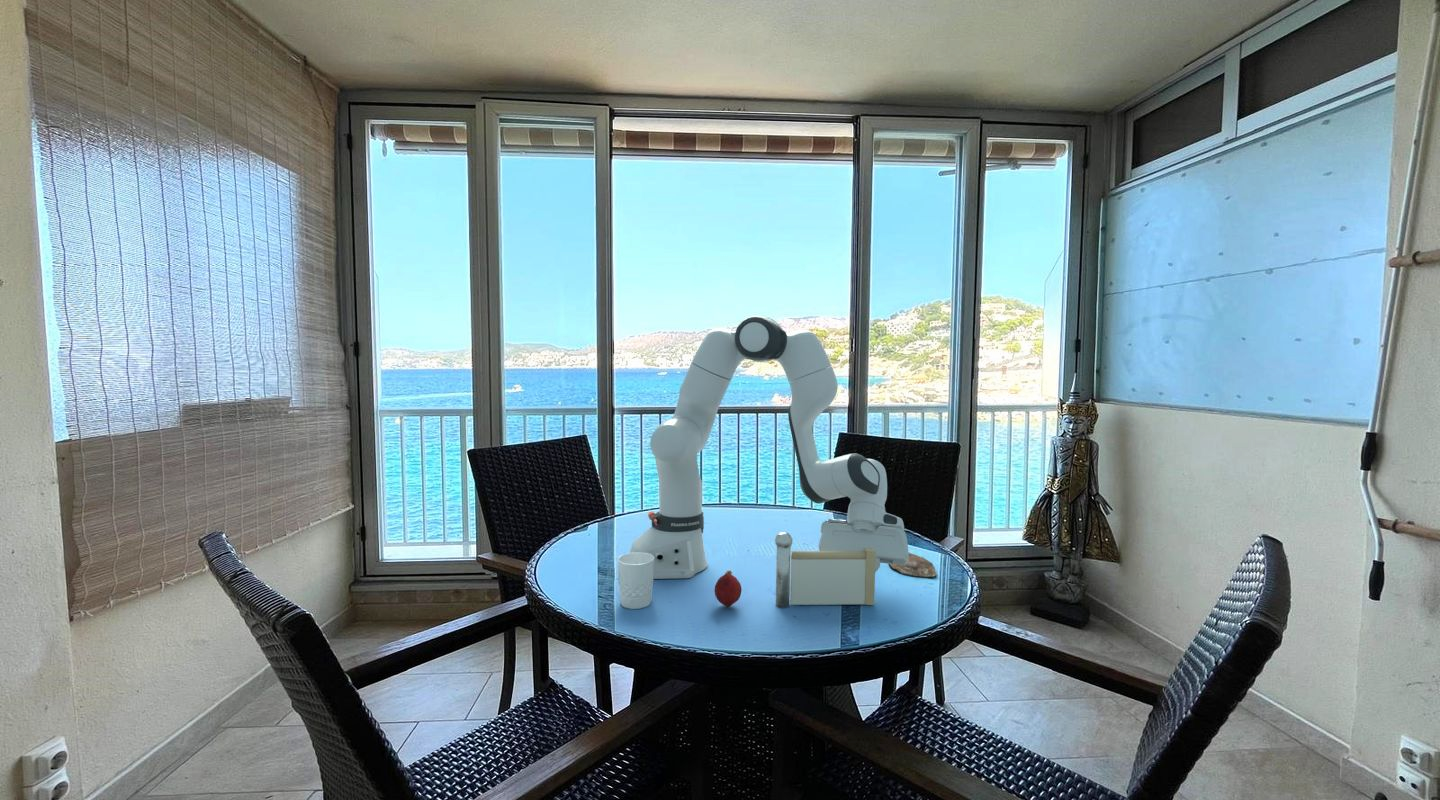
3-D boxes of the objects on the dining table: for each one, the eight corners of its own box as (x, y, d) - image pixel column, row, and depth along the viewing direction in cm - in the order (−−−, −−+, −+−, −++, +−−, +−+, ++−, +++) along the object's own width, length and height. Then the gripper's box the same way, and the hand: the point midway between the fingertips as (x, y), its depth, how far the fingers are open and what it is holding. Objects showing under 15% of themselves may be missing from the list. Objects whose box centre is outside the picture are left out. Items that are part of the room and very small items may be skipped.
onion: (732, 615, 115) (732, 577, 114) (709, 608, 118) (709, 572, 117) (745, 605, 119) (746, 569, 119) (723, 599, 123) (723, 564, 122)
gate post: (777, 609, 118) (779, 535, 117) (771, 602, 121) (772, 530, 120) (794, 607, 119) (795, 534, 118) (787, 600, 122) (788, 529, 121)
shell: (889, 576, 139) (889, 562, 138) (888, 559, 151) (888, 546, 151) (937, 581, 135) (938, 566, 135) (932, 563, 148) (933, 550, 147)
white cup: (647, 612, 116) (647, 566, 115) (612, 608, 117) (612, 562, 117) (658, 597, 123) (658, 553, 123) (625, 593, 125) (625, 551, 124)
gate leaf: (791, 605, 119) (792, 551, 118) (789, 600, 121) (790, 547, 120) (874, 604, 119) (875, 550, 119) (871, 600, 122) (872, 547, 121)
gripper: (820, 511, 133) (812, 565, 124) (909, 519, 125) (907, 577, 117) (824, 524, 137) (816, 577, 129) (910, 532, 130) (907, 589, 121)
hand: (860, 577), depth 123 cm, fingers open, 3 cm apart
